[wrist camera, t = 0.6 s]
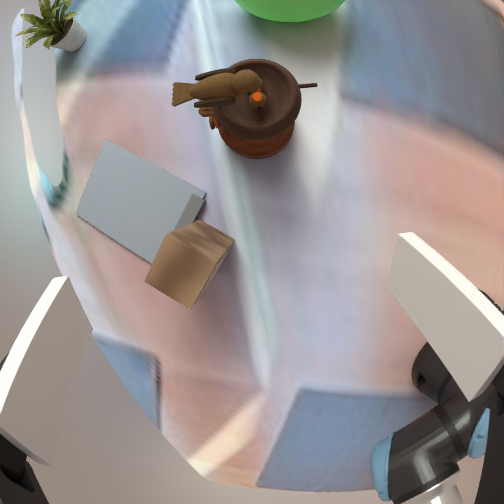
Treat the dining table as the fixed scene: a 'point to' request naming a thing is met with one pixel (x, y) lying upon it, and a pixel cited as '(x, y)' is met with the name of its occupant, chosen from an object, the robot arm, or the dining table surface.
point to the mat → (137, 200)
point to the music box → (247, 105)
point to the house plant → (55, 27)
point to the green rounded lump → (289, 9)
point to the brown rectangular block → (188, 261)
